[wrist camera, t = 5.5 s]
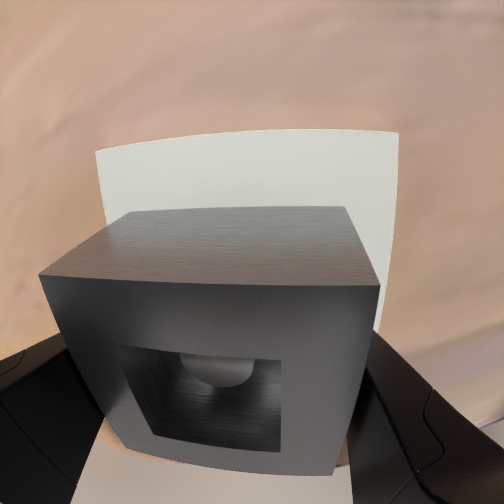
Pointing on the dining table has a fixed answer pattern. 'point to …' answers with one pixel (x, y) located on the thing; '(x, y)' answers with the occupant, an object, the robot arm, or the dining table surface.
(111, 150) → the post block
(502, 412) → the dining table surface
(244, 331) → the square hole block
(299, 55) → the dining table surface
